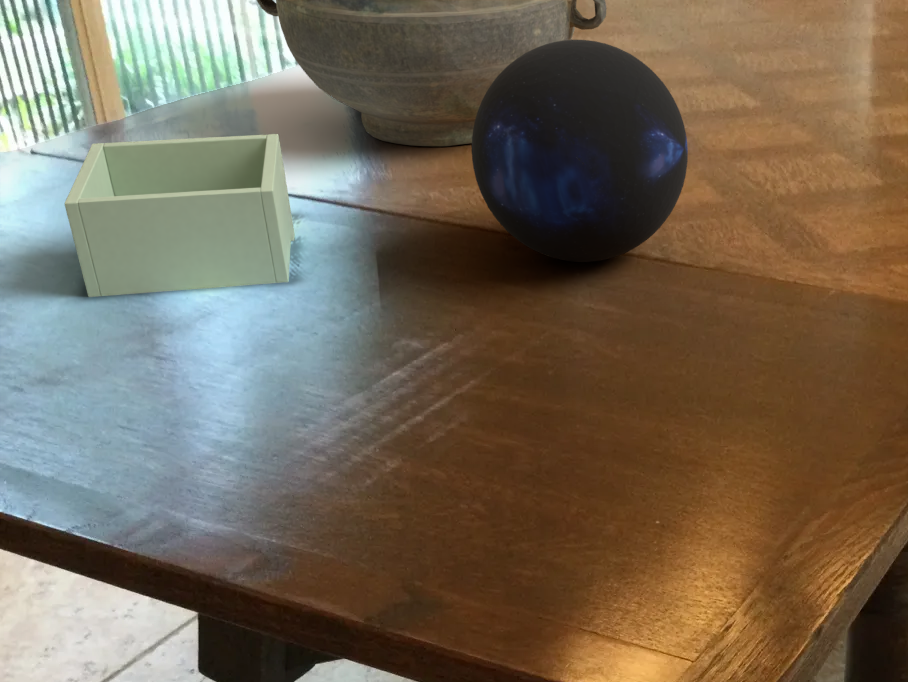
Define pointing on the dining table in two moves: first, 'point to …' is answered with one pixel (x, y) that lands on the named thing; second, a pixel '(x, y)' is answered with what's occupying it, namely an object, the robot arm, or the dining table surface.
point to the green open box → (181, 215)
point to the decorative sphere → (579, 150)
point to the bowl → (419, 56)
